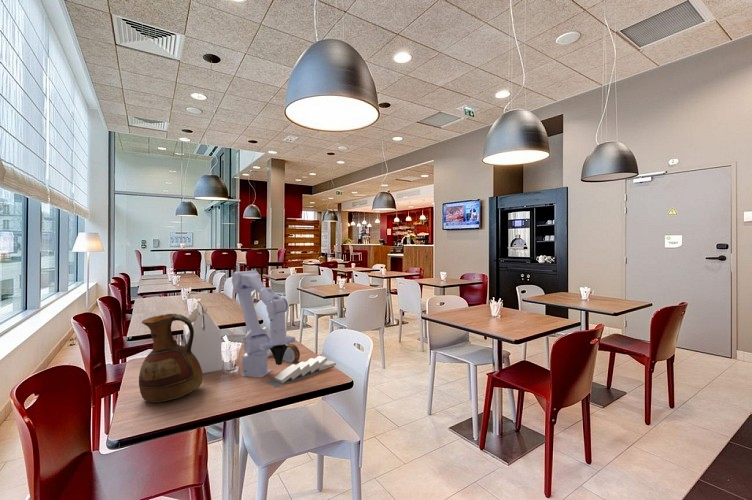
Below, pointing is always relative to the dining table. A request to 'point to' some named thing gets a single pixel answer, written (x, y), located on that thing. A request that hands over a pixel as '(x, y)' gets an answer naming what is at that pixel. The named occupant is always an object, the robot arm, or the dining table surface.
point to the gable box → (205, 340)
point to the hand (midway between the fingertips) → (278, 364)
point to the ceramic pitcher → (168, 362)
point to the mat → (277, 384)
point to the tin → (291, 353)
